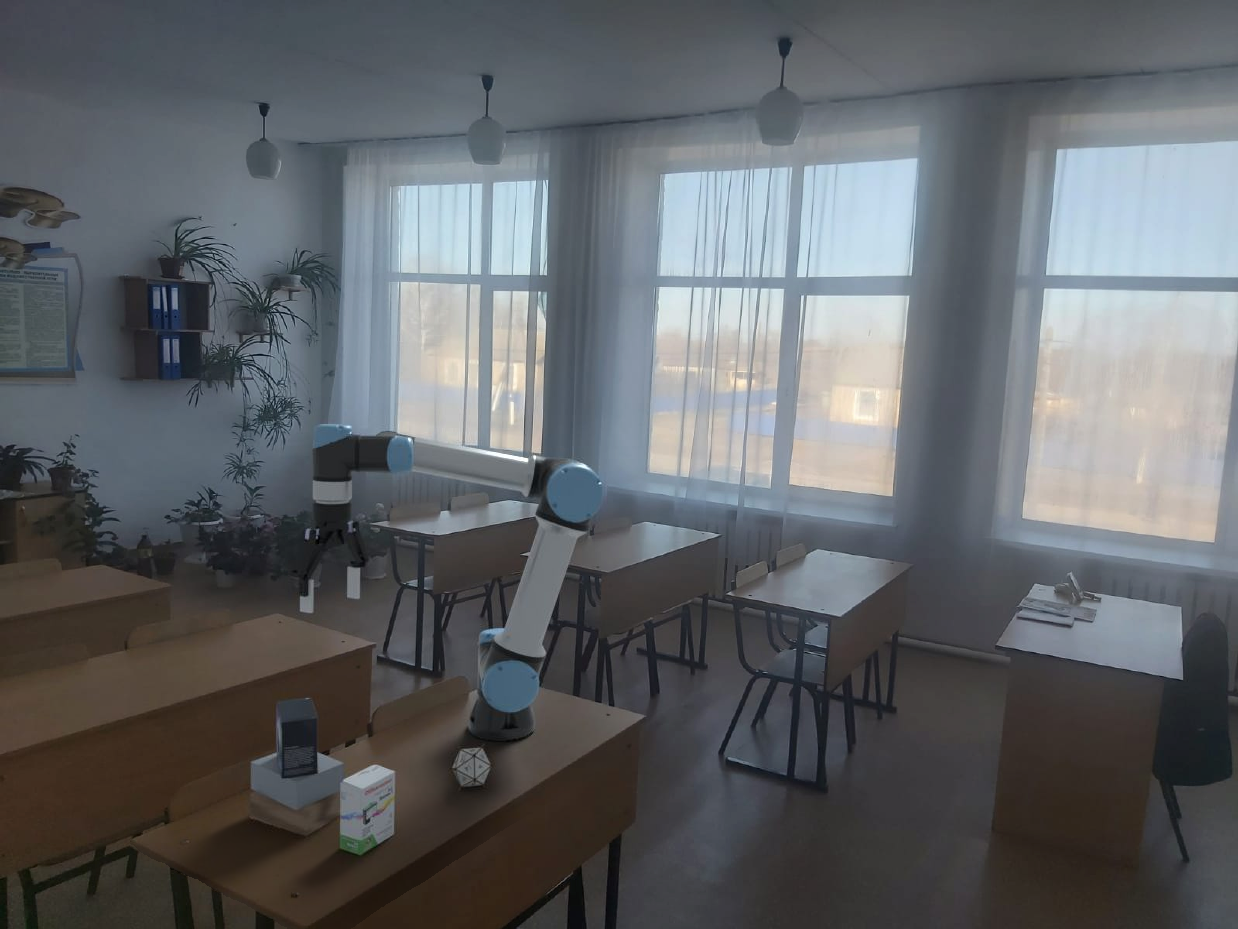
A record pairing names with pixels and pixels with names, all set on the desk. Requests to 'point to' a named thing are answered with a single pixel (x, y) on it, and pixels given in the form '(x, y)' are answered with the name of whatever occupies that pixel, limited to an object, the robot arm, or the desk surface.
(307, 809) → the walnut slab
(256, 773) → the grey slab
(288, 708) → the small box
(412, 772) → the desk surface
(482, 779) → the game die
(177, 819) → the desk surface
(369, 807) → the ink box
